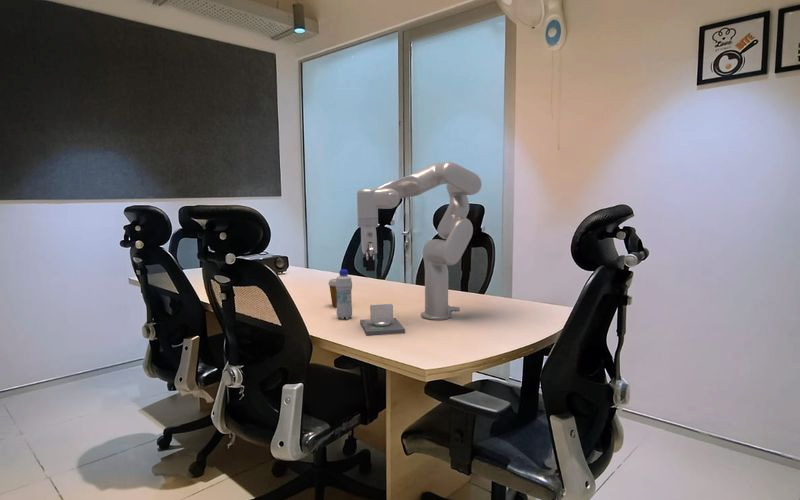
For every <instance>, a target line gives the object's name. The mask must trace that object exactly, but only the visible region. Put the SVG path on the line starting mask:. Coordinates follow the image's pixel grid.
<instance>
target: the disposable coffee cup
mask: <svg viewBox="0 0 800 500" xmlns="http://www.w3.org/2000/svg"><path fill="white" fill-rule="evenodd" d="M328 286H329V290H330V291H329V292H330V298H331V305H332V308H334V309H335V308H336V309H337V290H336V278H332V279H329V281H328Z"/></svg>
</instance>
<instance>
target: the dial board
mask: <svg viewBox="0 0 800 500" xmlns="http://www.w3.org/2000/svg"><path fill="white" fill-rule="evenodd" d="M364 320H370V318H367V319H360V320H359V324H360V326H361V328H362V330H363V332H364V334H365V336H381V335H383V336H384V335H395V334H396V335H397V334H406V328H405V327H404V326H403V325H402V323H401V322H400V321H399V320H398V319H397V318H396V317H393V322H391V325H388V326H375V325H373V324H372V323H369V324H364Z"/></svg>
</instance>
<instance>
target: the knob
mask: <svg viewBox="0 0 800 500" xmlns="http://www.w3.org/2000/svg"><path fill="white" fill-rule="evenodd" d="M369 307H370V309H369V310H370V312H369V313H370V318H369V319H370V320H366V319H363V320H364V324H369V323H372V324H373V325H375V326H388V325H391V322H393V318H394V305H393V304H392V303H387V304H382V303H381V304H370V306H369Z"/></svg>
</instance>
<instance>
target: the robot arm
mask: <svg viewBox="0 0 800 500" xmlns="http://www.w3.org/2000/svg"><path fill="white" fill-rule="evenodd" d="M443 185H446V190H447V193H448V197H449V204H448V206H447V209H446V210H445V213H444V214H443V216H442V218H441V220H440V221H439V224H438V226H437V231H436V232H437V235H438V236H439V237H440V238H442V239H437V238H436V239H433V238H432V239H429V240H428V241H427V242H425V243H424V245H423V248H422V258H423V259H422V260H423V263H424V311H423V312H421V313H420V317H421V318H423V319H425V320H430V321H431V320H432V321H441V320H442V321H443V320H449V319H451V318H452V317H453V314H452V313H453V312H460V309H461V308H460V306H453V305H452V306H450V305H449V269H448V266H454V265H456V264H457V263H458V262H459V261H460V260H461V258H462V257H463V254H464V253H465V251H466V249H467V246H468V245H469V243H470V241H471V239H472V237H473V233H474V227H473V224H472V223H473V222H471V220H470V219H468V218H467V216H468V214H469V211H470V203H469V202H470V201H469V198H468V196H473V195H476V194H478V193H479V192H480V190H481V189H482V181H481V178H480V177H479V175H478V174H476V173H475V172H473V171H471V170H469V169H467V168H465V167H463V166H461V165H460V164H458V163H456V162H451V161H446V162H437V163H434V164H432V165H430V166H427V167H425V168H422V169H420V170H418V171H415V172H413V173H411V174H409V175H406V176H404V177H401V178H399V179H396V180H392V181H390V182H388V183H385V184H383V185H381V186H378V187H376V188H374V189H372V188H362V189H359V190H357V193H356V207H357V209H356V211H357V228H360V242H361V253H362V267H363V268H365V270H366V272H374V271H375V270H376V262H375V261H376V260H375V255H377V254H378V238H377V229H376V228H378V227H379V209H384V210H385V209H387V210H388V209H394V208H395V207H397V206H398V205H399V204H400V202H401V199H406V198H410V197H416V196H419V195H422V194H424V193H426V192H428V191H430V190H432V189H435V188H437V187H439V186H443Z"/></svg>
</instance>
